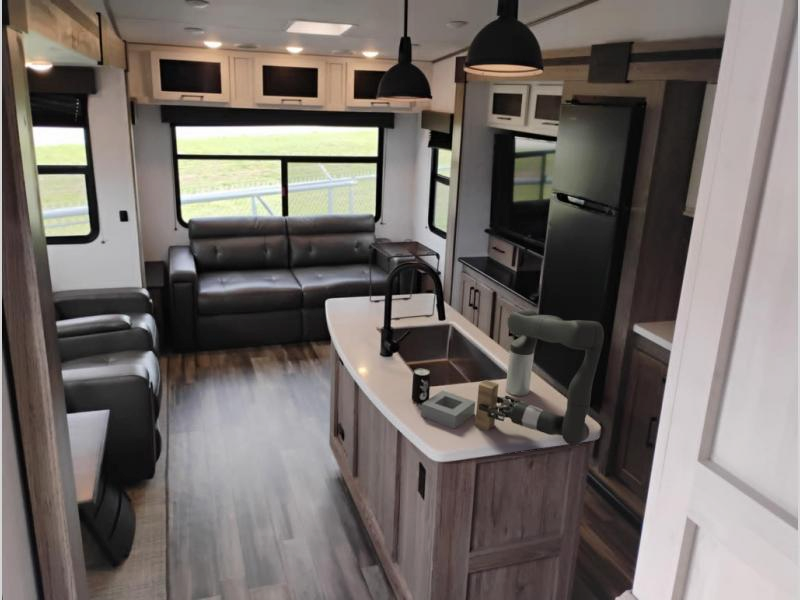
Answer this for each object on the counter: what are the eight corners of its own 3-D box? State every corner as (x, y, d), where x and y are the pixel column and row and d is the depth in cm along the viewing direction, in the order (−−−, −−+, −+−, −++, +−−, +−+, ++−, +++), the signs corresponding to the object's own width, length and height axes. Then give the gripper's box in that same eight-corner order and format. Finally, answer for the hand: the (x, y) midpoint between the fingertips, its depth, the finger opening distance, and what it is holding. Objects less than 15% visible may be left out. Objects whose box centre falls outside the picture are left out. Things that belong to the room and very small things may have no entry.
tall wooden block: (481, 420, 224) (485, 379, 219) (494, 424, 221) (498, 383, 216) (475, 425, 220) (478, 384, 215) (487, 430, 217) (491, 388, 212)
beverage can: (414, 405, 232) (416, 375, 229) (409, 397, 238) (411, 368, 235) (431, 403, 234) (433, 374, 230) (425, 396, 240) (427, 367, 236)
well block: (441, 402, 236) (442, 390, 234) (474, 413, 228) (475, 401, 226) (421, 416, 225) (421, 403, 223) (454, 428, 217) (455, 415, 215)
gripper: (537, 398, 214) (495, 385, 222) (520, 414, 203) (476, 399, 211) (535, 418, 216) (493, 403, 225) (517, 434, 205) (474, 418, 214)
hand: (485, 401), depth 218 cm, fingers open, 8 cm apart
